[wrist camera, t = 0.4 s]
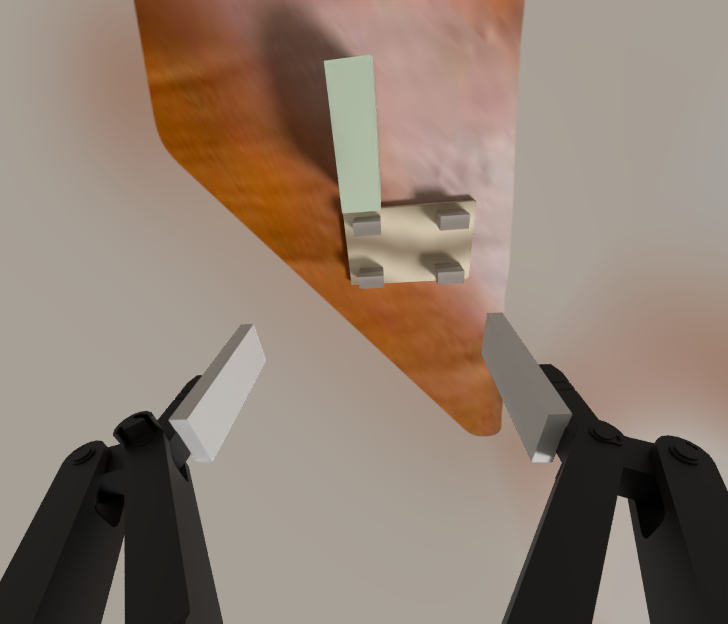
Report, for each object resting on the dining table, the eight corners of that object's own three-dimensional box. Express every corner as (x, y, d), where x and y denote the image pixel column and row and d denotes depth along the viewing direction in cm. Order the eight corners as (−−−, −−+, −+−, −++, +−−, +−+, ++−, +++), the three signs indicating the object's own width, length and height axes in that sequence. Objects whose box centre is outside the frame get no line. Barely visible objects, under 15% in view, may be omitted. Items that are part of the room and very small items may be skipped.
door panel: (351, 196, 35) (342, 213, 27) (340, 84, 30) (323, 60, 21) (381, 193, 35) (380, 210, 26) (375, 80, 30) (372, 54, 21)
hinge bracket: (343, 209, 36) (339, 216, 33) (474, 199, 35) (484, 205, 31) (352, 282, 41) (349, 294, 38) (466, 275, 40) (474, 288, 36)
